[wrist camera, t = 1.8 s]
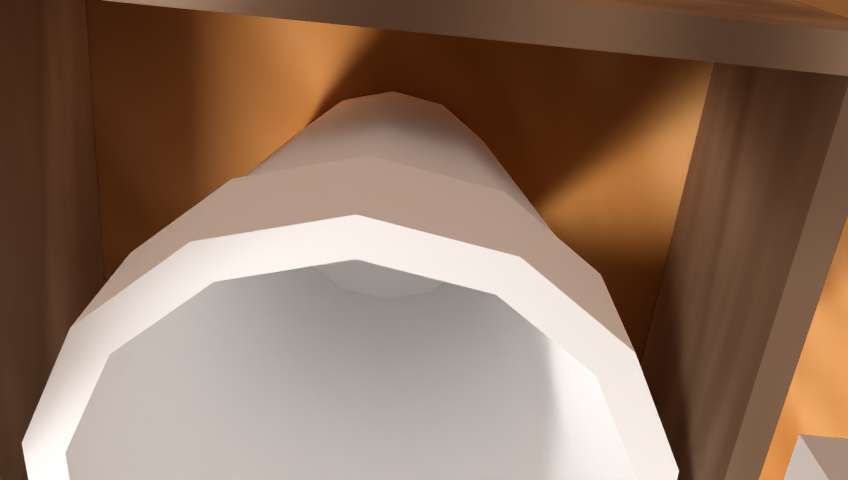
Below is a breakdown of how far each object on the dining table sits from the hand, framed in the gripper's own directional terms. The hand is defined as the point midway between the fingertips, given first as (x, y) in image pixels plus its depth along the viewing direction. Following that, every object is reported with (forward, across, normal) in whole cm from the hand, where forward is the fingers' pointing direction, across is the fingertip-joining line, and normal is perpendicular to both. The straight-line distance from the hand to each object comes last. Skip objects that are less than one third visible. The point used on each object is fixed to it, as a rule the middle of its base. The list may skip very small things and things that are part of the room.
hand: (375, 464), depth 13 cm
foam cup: (+12, 0, 0) cm, 12 cm away
